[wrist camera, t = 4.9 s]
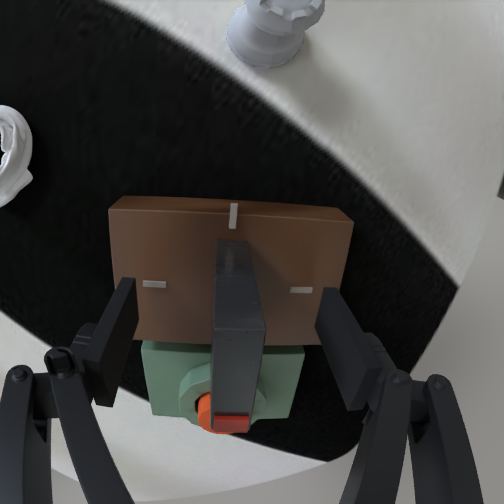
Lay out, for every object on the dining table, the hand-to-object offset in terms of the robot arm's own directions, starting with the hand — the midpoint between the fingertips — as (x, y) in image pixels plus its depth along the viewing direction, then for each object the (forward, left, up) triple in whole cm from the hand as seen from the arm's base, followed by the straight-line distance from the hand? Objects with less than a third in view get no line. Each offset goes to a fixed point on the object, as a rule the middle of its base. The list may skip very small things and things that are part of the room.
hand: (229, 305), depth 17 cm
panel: (0, 0, -5) cm, 5 cm away
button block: (0, +10, -5) cm, 11 cm away
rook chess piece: (-1, -15, -5) cm, 16 cm away
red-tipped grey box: (0, 0, -2) cm, 2 cm away
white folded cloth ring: (+17, -8, -5) cm, 19 cm away
